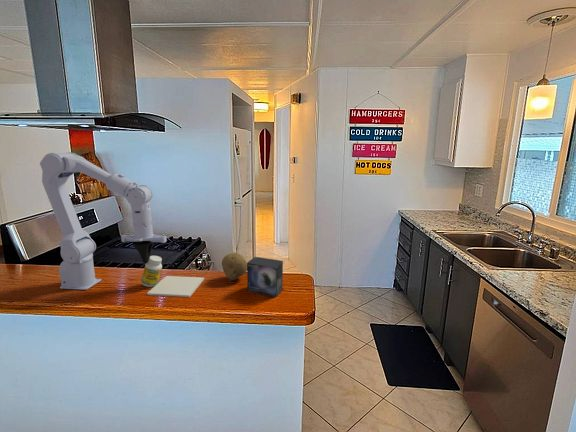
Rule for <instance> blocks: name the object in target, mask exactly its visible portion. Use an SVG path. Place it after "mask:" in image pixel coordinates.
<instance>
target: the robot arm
mask: <svg viewBox="0 0 576 432" xmlns="http://www.w3.org/2000/svg"><path fill="white" fill-rule="evenodd" d="M39 166H40V168H41V170H42V173H41V175H42V176H41V182H42V186H43V189H44V192H45V194H46V196H47V199H48V200H49V203H50V205H51V209H52V210H53V213H54V216H55V218H56V221H57V223H58V226H59V228H60V230H61V233H62V236H61V238H60V241H59V243H58V244H59V246H60V256H61V258H62V260H63V261H62V262H61V263H60V264H59V267H58V268H59V277H60V284H61V285H60V286H59V289H61V290H62V289H63V290H65V289H66V290H81V291H82V290H84V291H86V290H88V289H90V288H91V287H94V285H96V284H98V283H100V282H101V281H102V278H96V273H95V266H94V253H95V251H96V249H97V244H96V242H95V241H94V240H93V239H92V238H91V236H90V234H89V232H87V231H85V230H84V229H83V228H82V225H81V223H80V220H79V218H78V215H77V213H76V210H75V207H74V205H73V202H72V200H71V197H70V195H69V191H68V189H67V187H66V183H67V182H68V180H69V178H70V177H71V176H72V175H74V174H75V173H82V174H84V175H86V176H88V177H90V178H92V179H94V180H97V181H99V182H101V183H104V184H105V187H106V189H107V190H109V191H110V192H112V193H115V194H117V195H118V196H121V197H122V198H124V199H125V200H127V203H128V204H129V206H130V208H131V217H132V227H133V234H124V235H121V236H120V239H121V242H122V243H125V242H135V243H134V244H133V247H134V248H135V249H136V251H137V252H138V254H139V255H140V258H141V259H142V260H141V261H142V263H143V264H146V263H147V262H148V261H149V257H150V256H151V252H152V249H153V247H154V244H155V243H161V244H164V243H167V239H168V238H167V235H163V234H162V235H161V234H155V233H154V231H153V230H154V229H153V217H152V208H151V200H152V198H153V191H152V190H151V188H150V187H148V186H147V185H145V184H141V185H139V182H138V181H133V180H130V179H129V178H127V177H126V176H125V174H122V173H113V174H110V173H109V172H108V171H106V170H104V169H103V168H101V167H99V166H97V165H96V164H94V163H92V162H91V161H89V160H87V159H85V157H84V156H82V155H78V154H77V153H75V152H71V151H68V152H57V153H55V152H49V153H46V154H45V155H44V156H43V157H42V159H41V160H40V162H39Z"/></svg>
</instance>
